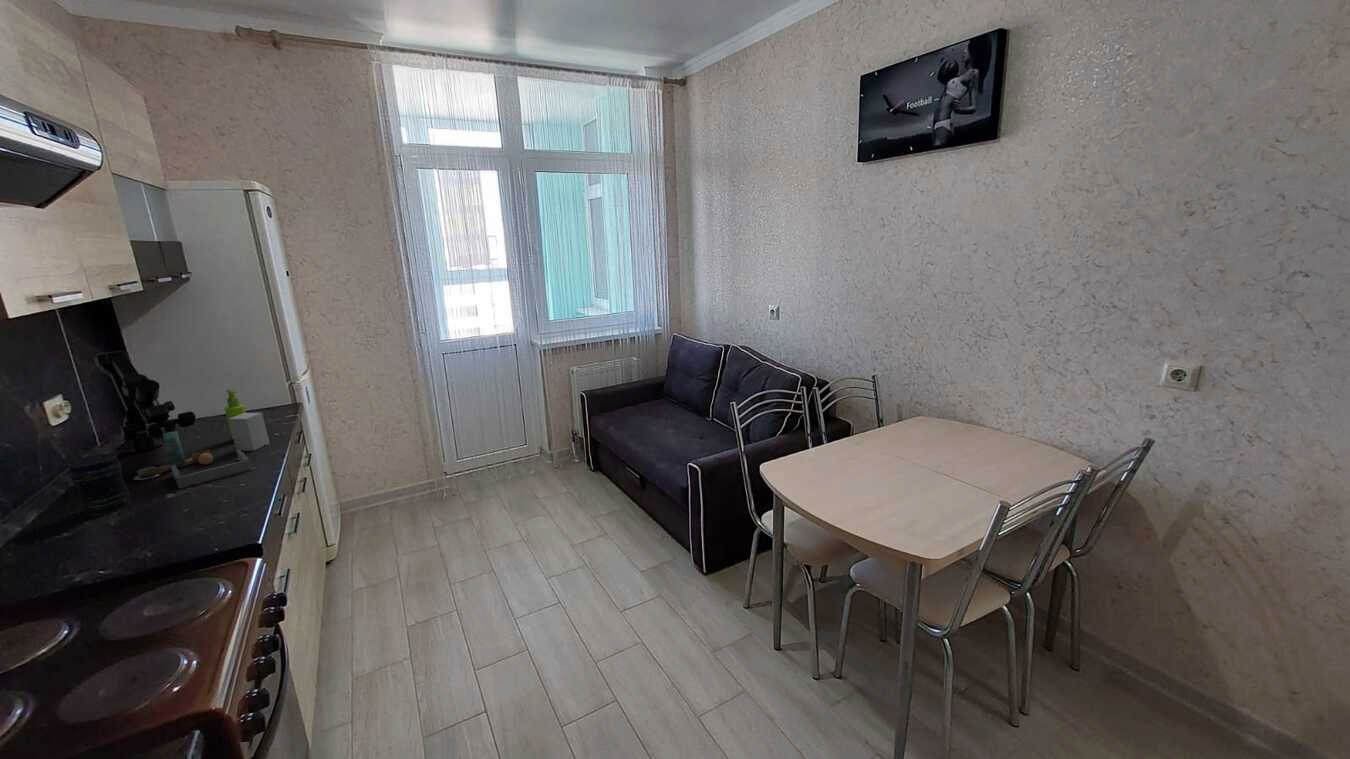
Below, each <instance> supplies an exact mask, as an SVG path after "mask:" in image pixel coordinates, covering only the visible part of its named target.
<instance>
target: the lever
mask: <svg viewBox="0 0 1350 759" xmlns="http://www.w3.org/2000/svg"><path fill="white" fill-rule="evenodd" d="M163 437H164V441H165V443H164V445H165V448H166V451H167V454H168V457H169V462H170V463H169V464H165V465H161V466H157V467H156V466H148V467H144V468H141V469H138V470H137V471H136V472H137V474H138V475H139V478H146V477H150V476H153V475H156V474H157V473H160V472H166V471H172V470H171V466H173V465H176V467H177V469H180V468H183V467H186V466H188V465H191V464H194V465H195V464H198V463H199V462H198V457H199V456H200V455H201V454H203V453H210V454H211V455H212V456H213V455H214V454H212V453H211V450H210V449H208V450H205V451H200V452H197V453H193V454H190V455H191V458H190V457H189V458H186V459H185V456H184V452H183V448H182V444H181V441H180V437H179V434H178V431H176V430H175V431H174V432H168V433H165V434H163ZM213 457H214V456H213ZM199 464H200V463H199ZM138 475H137V476H138Z"/></svg>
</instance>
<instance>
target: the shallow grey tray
mask: <svg viewBox="0 0 1350 759" xmlns="http://www.w3.org/2000/svg"><path fill="white" fill-rule="evenodd" d="M235 452H236V456H237V459H238V461H236V462H232V463H227V464H224V465H220V466H216V467H212V468H208V469H204V470H199V471H196V472H191V473H188V474H183V475H181V474H180V471H179V468H177V467H176V465H173V466H171V470H170V471H171V472H172V473H171V474H172V477H173V478H174V481H175V482H176V485H177V487H178V489H179V488H180V489H182V488H181V487H184V488H187V487H186V486H188V487H190V486H189V485H192V486H194V484H195V485H198V484H202V483H205V482H206V483H207V482H211V481H213V480H214V481H215V480H217V479H221V478H225V477H228V476H229V477H230V476H232V475H236V474H241V473H244V472H248V471H252V470H253V468H252V464H251V460H250V459H249V458H248V457H247V456H246V454H245V452H244V451H241V450H235Z"/></svg>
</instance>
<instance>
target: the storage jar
mask: <svg viewBox="0 0 1350 759" xmlns="http://www.w3.org/2000/svg"><path fill="white" fill-rule="evenodd" d="M119 461H120V460H119V459H118V454H117V453H115V452H113V453H112V452H111V453H108V452H107V453H106V452H105V453H100V454H94V455H90V456H86V457H82V458H78V459H76V460H73V461H71V462H70V463H68V465H67V466H68V470H69V472H70V477H71V479H72V482H73V484H74V485H75V486H76V490H77V492H78V500H79V504H80V506H81V507H82V510H83V514H84V515H85V516H100V515H105V514H108V513H109V514H110V513H113V512H116V511H120V509H124V508H125V506H126V507H128V506H129V505H131V504H132V499H131V498H130V491H129V489H128V485H127V483H125V480H124V478H123V474H122V473H123V469H122V466H121V462H119ZM128 504H129V505H128Z"/></svg>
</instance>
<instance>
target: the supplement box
mask: <svg viewBox="0 0 1350 759" xmlns="http://www.w3.org/2000/svg"><path fill="white" fill-rule="evenodd" d="M228 420H229V423H228V425H229V424H230V427H231V431H232V435H233V439H234V441H233V442H234V446H235V449H236V450H243V451H242V452H254V450H255V451H257V450H259V449H258V448H260V447H262V446H264V445H266V446H268V445H270V444H269V443H270V440H269V435H268V432H267V428H266V423H265V419H264V414H263V412H246V413H243V414H240V415H238V416H235V417H232V418H230V419H227V421H228ZM230 427H229V428H230ZM231 431H230V432H231ZM232 435H231V436H232ZM233 439H232V440H233ZM267 444H268V445H267ZM264 447H265V446H264ZM262 448H263V447H262ZM256 449H257V450H256ZM260 449H261V448H260ZM236 450H235V451H236ZM245 450H246V451H245Z"/></svg>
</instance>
